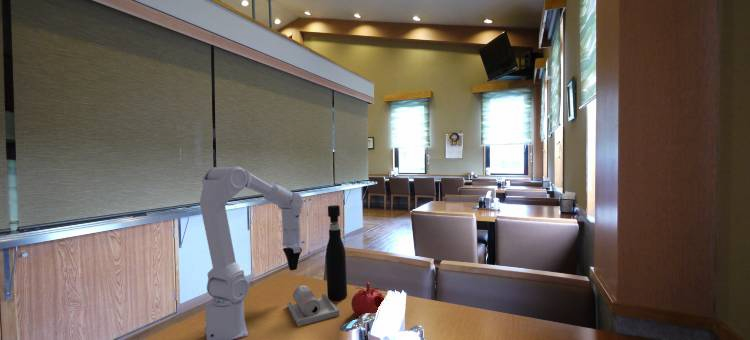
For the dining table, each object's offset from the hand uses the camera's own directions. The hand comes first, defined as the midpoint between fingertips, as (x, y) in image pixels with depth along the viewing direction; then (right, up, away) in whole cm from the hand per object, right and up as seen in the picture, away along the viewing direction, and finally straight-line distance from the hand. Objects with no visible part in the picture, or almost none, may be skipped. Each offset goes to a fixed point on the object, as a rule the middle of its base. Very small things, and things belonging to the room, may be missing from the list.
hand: (293, 269), depth 106 cm
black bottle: (+15, -9, -1) cm, 17 cm away
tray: (+8, -9, -10) cm, 16 cm away
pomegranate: (+25, -9, -14) cm, 30 cm away
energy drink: (+4, -6, -4) cm, 8 cm away
